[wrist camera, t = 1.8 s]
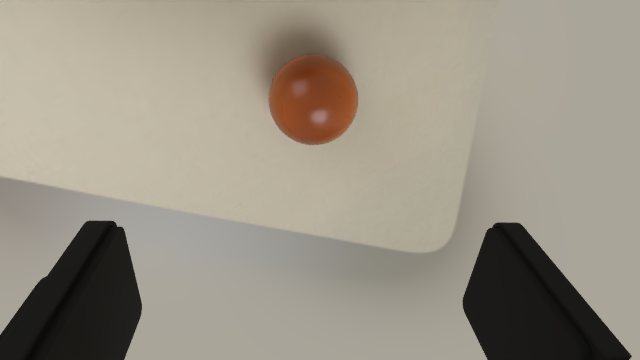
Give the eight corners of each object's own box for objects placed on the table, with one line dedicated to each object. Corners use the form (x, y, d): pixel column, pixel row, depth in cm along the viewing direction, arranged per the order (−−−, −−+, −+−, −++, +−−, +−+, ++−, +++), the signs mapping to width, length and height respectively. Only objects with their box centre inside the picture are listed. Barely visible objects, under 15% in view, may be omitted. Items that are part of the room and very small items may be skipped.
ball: (355, 46, 23) (370, 70, 19) (347, 125, 26) (359, 161, 22) (270, 42, 23) (266, 66, 19) (270, 123, 26) (267, 159, 21)
